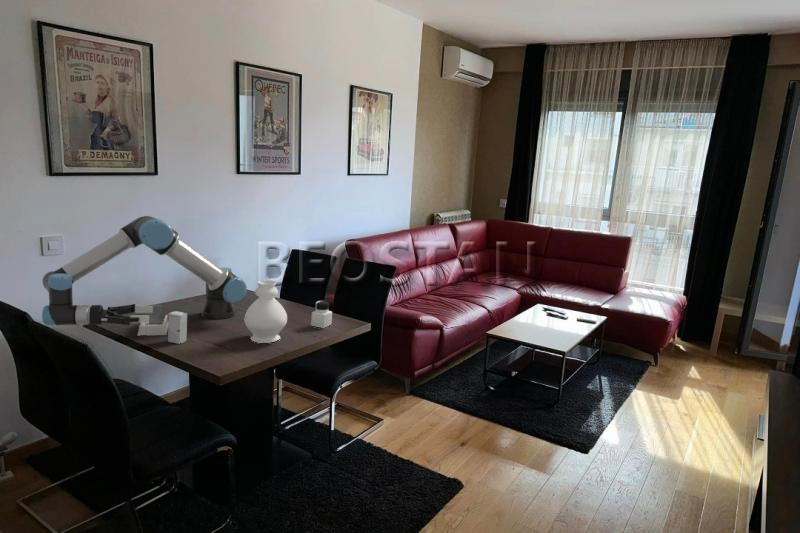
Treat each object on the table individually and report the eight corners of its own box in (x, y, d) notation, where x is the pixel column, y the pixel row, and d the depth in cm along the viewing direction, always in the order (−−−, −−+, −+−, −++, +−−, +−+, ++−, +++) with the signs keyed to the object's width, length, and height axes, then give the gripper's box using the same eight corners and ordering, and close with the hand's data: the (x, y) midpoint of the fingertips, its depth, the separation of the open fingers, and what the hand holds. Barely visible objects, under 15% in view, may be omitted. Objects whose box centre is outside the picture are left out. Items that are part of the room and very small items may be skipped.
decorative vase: (264, 349, 217) (266, 289, 212) (235, 339, 226) (235, 281, 221) (295, 338, 232) (297, 282, 227) (265, 329, 241) (267, 275, 236)
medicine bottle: (331, 325, 253) (332, 301, 251) (323, 329, 247) (324, 304, 245) (319, 323, 256) (320, 298, 254) (310, 326, 250) (311, 301, 247)
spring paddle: (162, 322, 237) (161, 305, 235) (161, 323, 235) (161, 305, 234) (149, 322, 235) (148, 305, 233) (148, 323, 234) (148, 305, 232)
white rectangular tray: (169, 323, 240) (169, 314, 239) (166, 334, 225) (166, 325, 224) (142, 324, 236) (142, 315, 235) (137, 335, 221) (137, 326, 220)
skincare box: (167, 341, 217) (167, 313, 214) (175, 338, 221) (174, 310, 219) (180, 344, 215) (179, 315, 213) (187, 341, 219) (187, 312, 217)
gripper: (97, 315, 218) (154, 314, 225) (83, 334, 195) (147, 332, 202) (96, 297, 216) (154, 297, 223) (82, 314, 193) (146, 313, 200)
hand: (150, 314), depth 213 cm, fingers open, 13 cm apart
